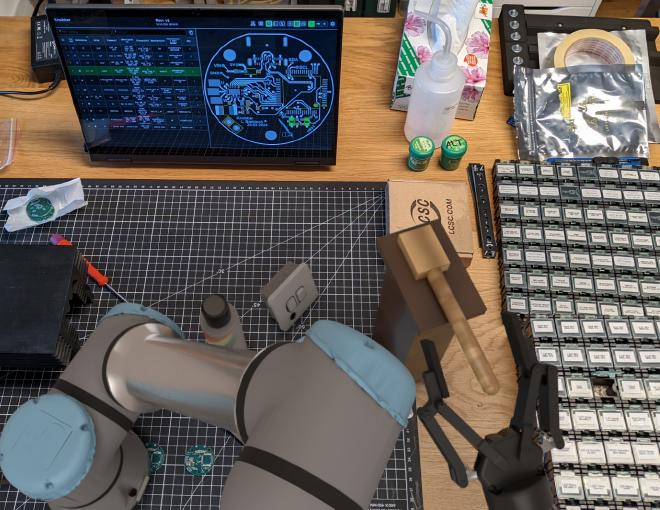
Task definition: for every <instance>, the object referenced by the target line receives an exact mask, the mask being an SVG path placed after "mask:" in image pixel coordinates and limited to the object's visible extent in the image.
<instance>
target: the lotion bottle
mask: <svg viewBox="0 0 660 510" xmlns="http://www.w3.org/2000/svg"><path fill="white" fill-rule="evenodd" d="M200 311H201V313H200V315H199V325H200V328H201V331H202V333H203V335H204V337H205V340H206V343H208V344H214V345H221V346H227V347H233V348H239V349H245V350H249V347H248V344H247V341H246V338H245V334H244V329H243V326H242V323H241V319H240V316H239V313H238V311H237V309H236V308H235V306H234V305H233V304H231V303H230V302H228V299H227V298H226V296H225V295H223V294H221V293H219V292H214V293H210V294H208V295H207V296H206V297H204V298H203V299H202V301H201V304H200Z"/></svg>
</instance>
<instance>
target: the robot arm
mask: <svg viewBox="0 0 660 510" xmlns="http://www.w3.org/2000/svg"><path fill="white" fill-rule="evenodd" d="M499 314H500V317H501V320H502V323H503V327H504V330H505V335H506V337H507V340H508V344H509V349H510V351H511V354H512V357H513V361H514V364H515V366H519V367H521V372H520V373H521V374H520V379H519V383H518V389H517V394H516V400H515V403H514V404H515V405H514V411H513V416H512V417H511V418H510V420H509V425H508V426H506V427H504V428H501V429H499V430H498V432H493V433H488V434H485V435H484V436H483V437H484V438H483V437H482V436H481V435H479V433H477V432H476V430H475V429H474V428H472V427H471V426H470V425H469V424H468V423H467V422H466V421H465V420H464V419H463V418H462V417H461V416H460V415H459V414H458V413H457V412H456V411H455V410H453V408H452V407H450V406H449V405H448V403H447V402H446V401H444V400H445V399H448V398H451V394H450V391H449V387H448V384H447V381H446V380H447V379H446V378H445V374H444V371H443V367H442V364H441V362H440V360H439V357H438V354H437V350H436V347H435V344H434V341H431V340H428V339H423V340H420V343H421V346H422V350H423V353H424V356H425V360H426V363H427V366H428V370H427V371H424V372H422V378H423V380H422V382H423V385H424V388H425V392H426V394H427V401H426V403H424V404H423V405H422V406H419V407H416V408H417V409H416V410H415V414H416V417H418V420H419V421H420V422H421V424H422V426H423V428H424V429H425V431H426V432H427V434H428V435H429V436H430V438H431V440H432V442H433V443H434V445H435V446H436V448H437V449H438V451H439V453H440V454H441V456H442V458H443V459H444V460H445V462H446V463H447V466H448V472H449V477H450V479H451V481H453V482H454V484H456V485H457V486H458V487H459V488H460V489H466V488H467V487H468V486H469V484H470V483H472V482H475V481H479V483H480V485H481V489H482V492H483V496H484V499H485V502H486V506H487V509H488V510H558V508H557V506H556V504H555V498H554V495H553V491H552V487H551V484H550V481H549V478H548V474H547V471H546V468H545V466H544V457H545V456H544V455H545V453H547V452H549V451H552V450H553V449H557V450H561V451H562V450H564V448H565V447H566V442H565V439H564V437H563V434H562V431H561V426H560V398H559V395H560V394H559V369H558V367H557V365H555V364H552V363H549V362H544V361H539V358H538V356H537V352H536V349H535V346H534V343H533V339H532V338H531V337H530V336H527V335H524V331H523V329H522V325H521V322H520V319H519V315H518V313H517V311H510V310H504V311H501V312H499ZM304 334H305V335H304V336H305V338H304V340H303V342H302V343H301V342H295V341H291V340H282V341H277V342H274V343H271V344H269V345H267V346H265V347H264V348H262V349H261V350H260V351H259V350H258V351H257V350H252V349H248V350H245V349H239V348H233V347H227V346H221V345H214V344H208V342H202V341H195V340H190V339H186V336H185V333H184V331H183V330H182V328H181V327H180V326H179V325H178V324H177V323H176V322H175V321H173V320H172V319H171V318H169V317H168V316H167V315H165V314H163V313H162V312H160V311H158V310H156V309H154V308H152V307H148V308H147V307H146V306H144V305H143V304H140V303H137V302H130V301H129V302H127V301H126V302H121V303H117V304H115V305H114V306H113V307H111V308H110V309H109V310H108V312H107V313H106V314H105V315H104V316H102V317H101V318H100V319H99V321H98V322H97V325H96V327H95V328H94V329H93V331H92V333H91V334H90V336H89V337H88V338H87V339H86V341H85V342H84V343H83V344H82V346H81V347H80V349H79V350H78V351H77V353H76V354H75V355H74V357H73V358H72V359H71V361H70V362H69V363H68V364H67V366H66V367H65V369H64V370H63V371H62V372H61V374H60V376H59V377H58V379H57V380H56V382H55V383H54V385H53V386H52V387H51V388H50V389H49V391H48V392H47V393H46V394H41V395H40V396H37V397H35V398H30V399H29V400H27V401H25V402H24V403H23V404H21V405H20V406H19V407H17V409H16V410H14V412H13V413H12V414H11V415H10V416H9V418H8V420H7V421H6V423H5V424H4V426H3V429H2V431H1V434H0V470H1V471H2V473H3V476H4V477H5V479H0V486H3V485H10V484H11V485H12V487H14V488H15V489H17V490H19V491H20V492H21V493H22V494H23V495H25V496H26V497H28V498H30V499H33V500H39V501H42V502H43V501H44V502H46V503H47V505H48V507H49V509H50V510H135V509H136V508H137V506H138V505H139V504H140V502H141V501H142V500H143V498H144V497H145V494H146V491H147V489H148V486H149V483H150V479H151V474H152V464H151V456H150V453H149V451H148V448H147V446H146V445H145V443H144V441H143V440H142V439H141V437H140V436H139V435H138V434H136V433H135V432H134V431H133V430H132V427H133V426H134V425H135V423H136V421H137V420H138V418H139V416H140V415H141V414H149V413H151V414H152V413H155V412H158V411H160V410H166V411H169V412H172V413H176V414H178V415H181V416H184V417H186V418H187V417H188V418H190V419H193V420H196V421H199V422H201V423H206V424H209V425H212V426H214V427H217V428H220V429H223V430H226V431H229V432H232V433H234V434H238V437H239V439H240V441H241V443H242V444H243V445H244V446H243V448H242V450H241V452H240V454H239V455H238V457H237V459H236V460H235V461H234V463H233V465H232V467H231V468H230V471H229V473H228V475H227V478H226V480H225V483H224V486H223V490H222V492H221V498H220V504H219V510H368V509H369V508H370V505H371V502H372V500H373V498H374V496H375V493H376V492H377V489H378V486H379V484H380V481H381V479H382V477H383V474H384V473H385V470H386V468H387V465H388V463H389V460H390V458H391V457H392V454H393V450H394V448H395V447H396V444H397V441H398V440H399V437H400V434H401V432H402V430H403V429H407V427H408V424H409V423H408V418H409V416H410V413H411V411H412V409H413V405H414V404H415V400H416V397H417V391H418V390H417V384H416V382H415V381H414V378H413V376H412V375H411V373H410V372H409V370H408V369H407V368H406V367H405V366H404V365H403V364H402V363H401V361H400V360H398V359H397V358H396V357H395V356H394V355H393V354H392V353H390V352H389V351H388V350H387V349H385V348H384V347H383V346H381V345H380V344H378V343H377V342H375V340H374V339H372V338H371V337H369V336H367V335H366V334H364V333H362V332H360V331H358V330H357V329H355V328H353V327H351V326H348V325H347V324H344V323H342V322H339V321H335V320H331V319H319V320H316V321H315V322H314V323H313V324H312V325H311V326H310V328H309V329H306V330H305V333H304ZM537 402H538V417H539V418H538V419H539V420H538V421H539V428H540V431H539V432H538V437H539V440H538V442H535V441H534V440H533V437H534V431H535V426H534V418H535V413H536V407H537ZM437 414H438V415H440V416H441V417H442V419H444V420H445V421H446V422H447V424H449V425H450V426H451V427H452V428H453V429H454V430H455V431H456V432H458V434H460V435H461V437H463V438H464V439H465V440H466V442H467V443H469V444H470V446H472V447H473V448H474V449H475V450H476V451H477V453H476V456H475V460H474V463H473V466H472V468H471V467H470V465H468V464H467V463H466V462H463V460H462V458H461V456H460V455H459V454H458V452H457V450H456V449H455V448H454V446H453V445H452V442H451V440H450V439H449V438H448V436H447V435H446V433H445V431H444V430H443V428H442V427H441V425H440V423H439V421H438V420H437V419H436V417H435V416H436V415H437Z"/></svg>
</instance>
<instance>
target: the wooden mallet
mask: <svg viewBox="0 0 660 510" xmlns="http://www.w3.org/2000/svg"><path fill="white" fill-rule="evenodd" d="M397 243H398V245H399V247H400V249H401V251H402V253H403V255H404V257H405V259H406V261H407V263H408V266H409V268H410V270H411V272H412V274H413V276H414V278H415V280H419V279H423V278H426V277H427V279H428V281H429V283H430V285H431V287H432V289H433V291H434V293H435V295H436V297H437V299H438V301H439V303H440V305H441V307H442V309H443V311H444V313H445V315H446V317H447V319H448V321H449V323H450V325H451V327H452V329H453V331H454V333H455V334H454V336H455V337H456V340H457V342H458V343H459V345H460V348H461V349H462V351H463V354H464V356H465V358H466V360H467V362H468V364H469V366H470V368H471V370H472V372H473V373H474V376H475V377H476V380H477V382H478V383H479V386H480V388H481V390H482V391H483V393H484V394H486V395H488V396H495V395H497V394H498V393H499V391H500V390H501V385H500V382H499V380H498V378H497V375H496V374H495V373H494V370H493V369H492V366H491V364H490V362H489V361H488V359H487V357H486V354H485V352H484V351H483V349H482V347H481V345H480V343H479V341H478V339H477V337H476V335H475V333H474V331H473V328H472V327H471V325H470V323H469V321H468V320H467V319H466V317H465V316H464V314H463V312H462V310H461V308H460V306H459V304H458V302H457V300H456V298H455V296H454V294H453V292H452V290H451V288H450V286H449V284H448V282H447V280H446V278H445V277H444V275H443V273H442V272H444V271H447V270H448V267H449V265H450V262H449V260H448V258H447V256H446V254H445V252H444V250H443V248H442V246H441V244H440V242H439V241H438V239H437V237H436V235H435V233H434V231H433V229H432V227H431V225H427V226H423V227H420V228H417V229H414V230H411V231H408V232H404V233H401V234H399V236H398V240H397Z"/></svg>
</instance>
